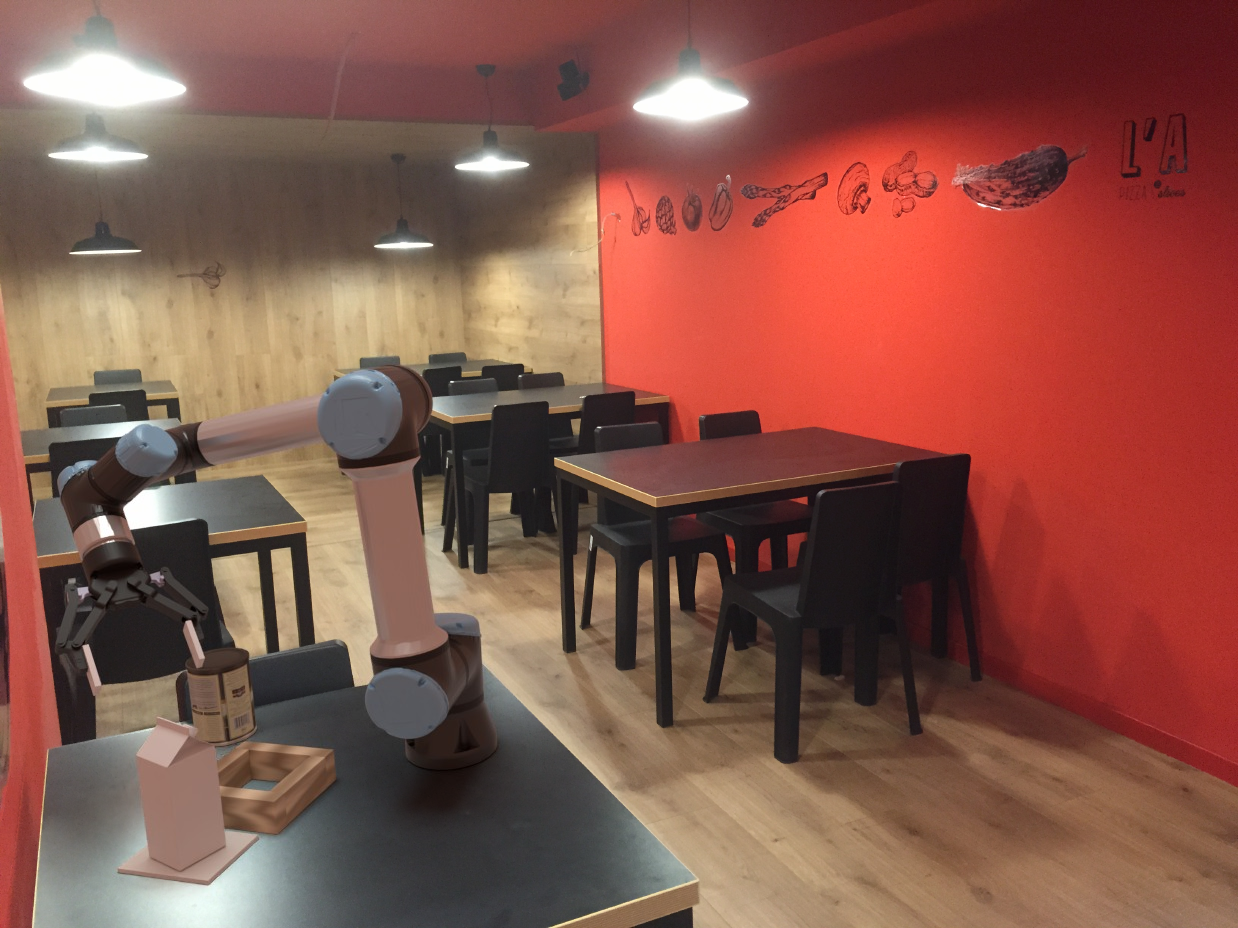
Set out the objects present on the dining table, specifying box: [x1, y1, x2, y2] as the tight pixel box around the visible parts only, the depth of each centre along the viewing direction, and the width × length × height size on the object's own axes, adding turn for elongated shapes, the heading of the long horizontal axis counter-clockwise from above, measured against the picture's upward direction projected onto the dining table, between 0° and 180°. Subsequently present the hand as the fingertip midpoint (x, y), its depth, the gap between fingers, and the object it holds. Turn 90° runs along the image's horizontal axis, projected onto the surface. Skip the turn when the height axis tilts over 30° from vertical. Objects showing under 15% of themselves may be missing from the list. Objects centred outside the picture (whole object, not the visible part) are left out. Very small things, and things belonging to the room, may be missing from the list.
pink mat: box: [116, 830, 260, 886], centre depth 133 cm, size 14×11×1 cm
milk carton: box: [135, 716, 226, 871], centre depth 131 cm, size 7×7×19 cm
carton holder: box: [217, 740, 337, 835], centre depth 146 cm, size 16×16×5 cm
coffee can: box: [184, 647, 258, 748], centre depth 169 cm, size 10×10×14 cm
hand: (150, 676), depth 136 cm, fingers open, 13 cm apart
